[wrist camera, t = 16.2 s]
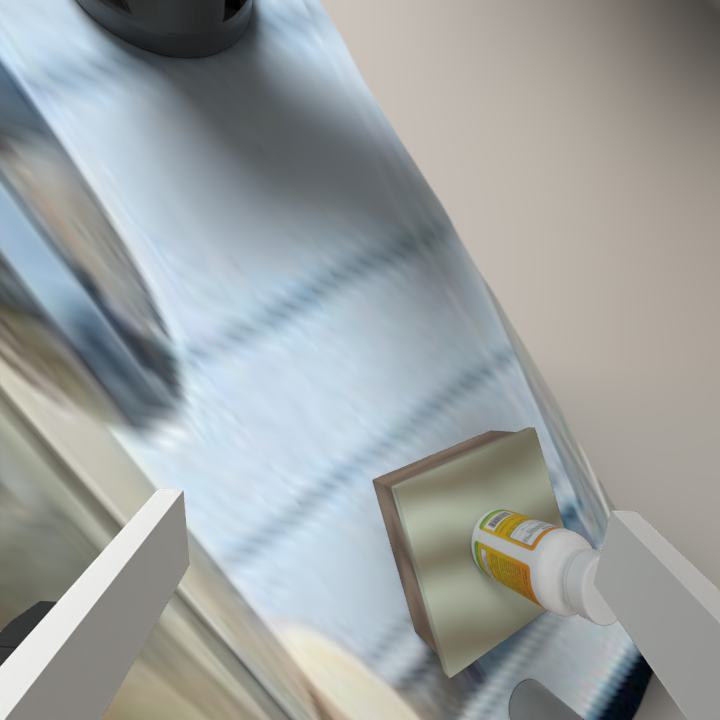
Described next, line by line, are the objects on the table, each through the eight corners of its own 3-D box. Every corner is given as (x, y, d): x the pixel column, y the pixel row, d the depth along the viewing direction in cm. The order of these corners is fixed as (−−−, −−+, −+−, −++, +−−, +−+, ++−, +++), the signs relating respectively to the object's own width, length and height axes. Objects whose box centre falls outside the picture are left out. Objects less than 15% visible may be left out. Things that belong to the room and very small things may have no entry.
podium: (367, 477, 35) (395, 488, 30) (492, 425, 41) (534, 427, 36) (413, 638, 35) (449, 678, 30) (533, 563, 40) (581, 586, 35)
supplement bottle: (511, 584, 33) (628, 649, 24) (460, 565, 31) (564, 627, 22) (527, 519, 34) (643, 558, 25) (480, 498, 32) (585, 531, 23)
